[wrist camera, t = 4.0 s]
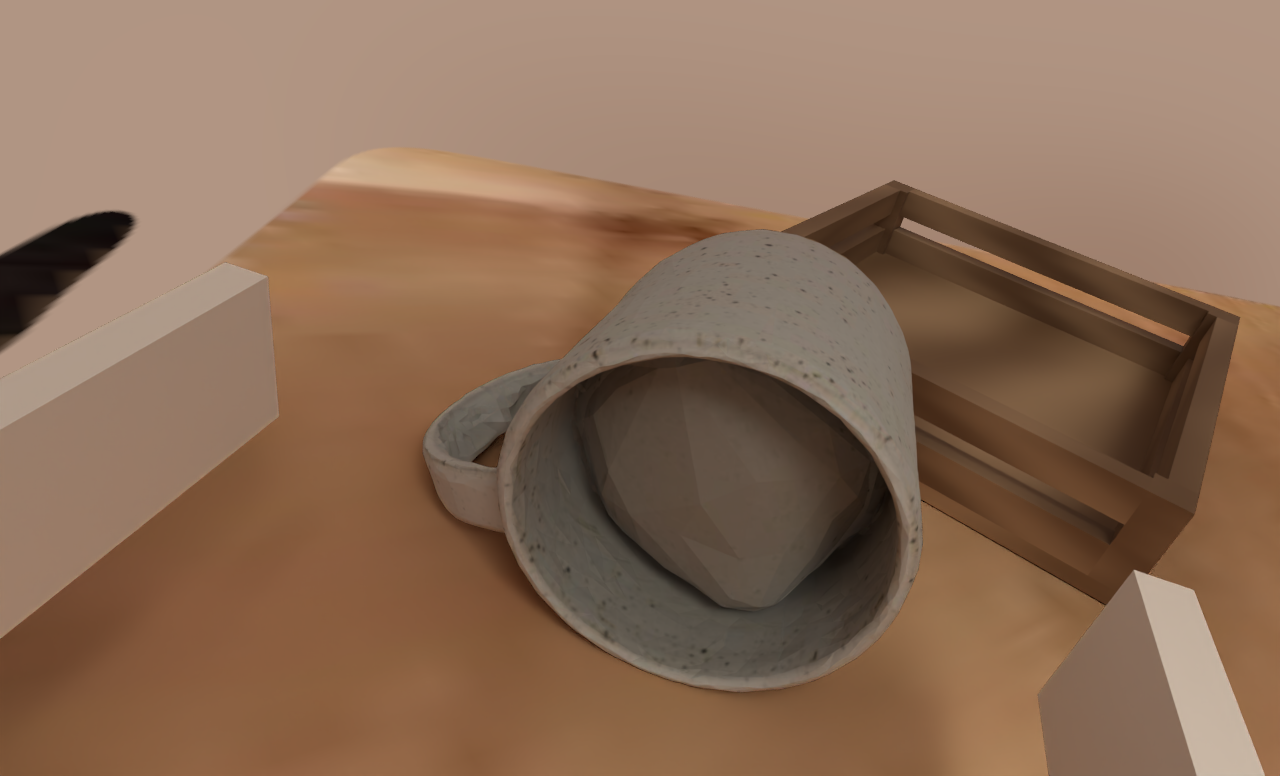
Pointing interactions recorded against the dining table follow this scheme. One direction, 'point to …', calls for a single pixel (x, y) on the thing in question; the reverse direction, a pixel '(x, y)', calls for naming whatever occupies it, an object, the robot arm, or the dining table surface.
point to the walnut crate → (1042, 387)
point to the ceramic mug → (709, 467)
